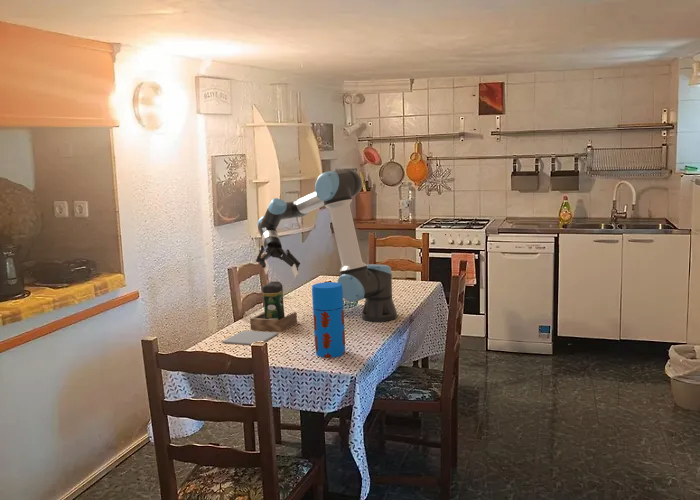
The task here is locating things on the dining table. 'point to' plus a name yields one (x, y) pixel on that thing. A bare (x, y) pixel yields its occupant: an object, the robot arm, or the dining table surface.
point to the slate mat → (249, 337)
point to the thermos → (328, 319)
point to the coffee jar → (273, 301)
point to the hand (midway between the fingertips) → (282, 274)
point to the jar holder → (273, 322)
